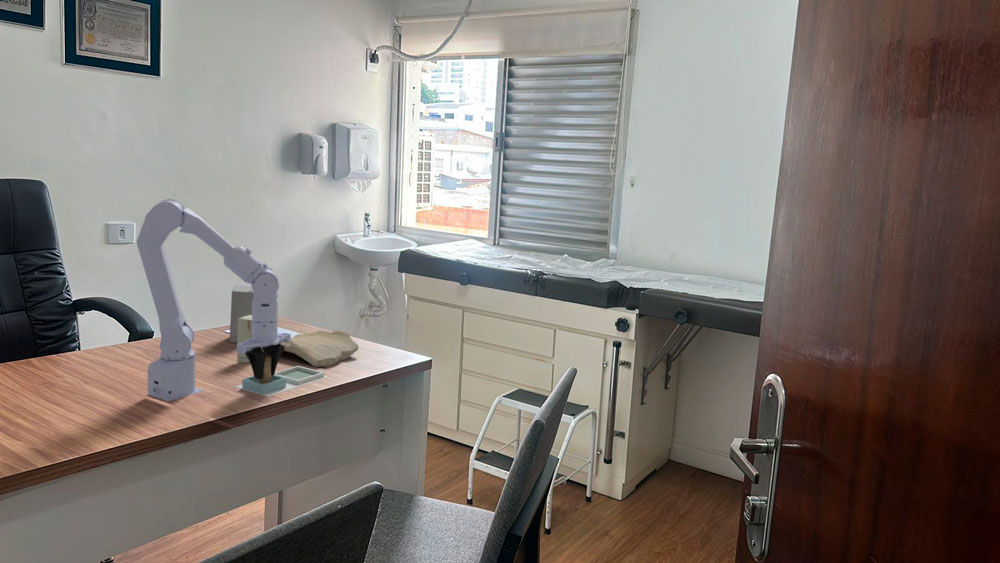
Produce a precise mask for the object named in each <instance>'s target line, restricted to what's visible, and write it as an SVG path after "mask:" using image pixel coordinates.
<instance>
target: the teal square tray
mask: <svg viewBox="0 0 1000 563" xmlns="http://www.w3.org/2000/svg"><path fill="white" fill-rule="evenodd" d="M241 380H242V381H241V382H242V383H241V385H242V388H244V389H247V390H251V391H254V392H257V393H261V394H266V393H269V392H272V391H275V390H278V389H281V388H284V387H286V378H284V377H280V376H277V375H273V376H271V382H269V383H266V384H261V383H258V379H257V378H255V377H254V375H250V376H248V377H245V378H242V379H241ZM257 393H256V394H257Z"/></svg>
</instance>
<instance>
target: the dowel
mask: <svg viewBox="0 0 1000 563" xmlns="http://www.w3.org/2000/svg"><path fill="white" fill-rule="evenodd" d="M269 382H271V356H269V355H266V358H265V362H264V374H263V379H258V383H261V384H266V383H269Z"/></svg>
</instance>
